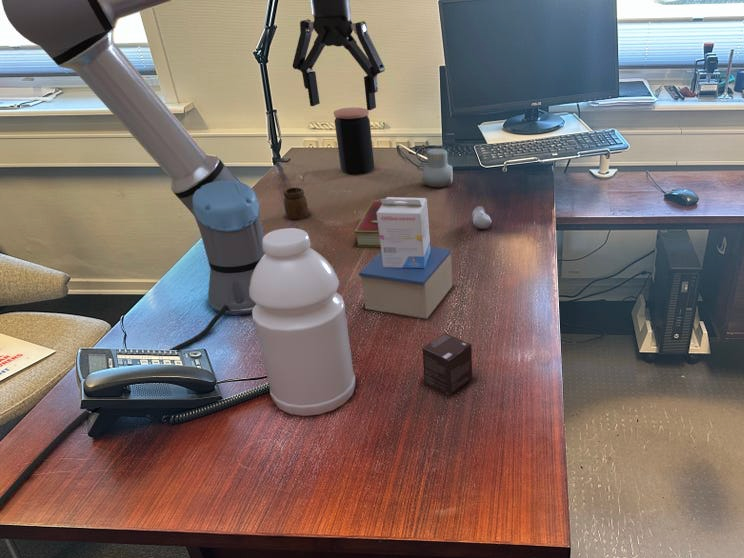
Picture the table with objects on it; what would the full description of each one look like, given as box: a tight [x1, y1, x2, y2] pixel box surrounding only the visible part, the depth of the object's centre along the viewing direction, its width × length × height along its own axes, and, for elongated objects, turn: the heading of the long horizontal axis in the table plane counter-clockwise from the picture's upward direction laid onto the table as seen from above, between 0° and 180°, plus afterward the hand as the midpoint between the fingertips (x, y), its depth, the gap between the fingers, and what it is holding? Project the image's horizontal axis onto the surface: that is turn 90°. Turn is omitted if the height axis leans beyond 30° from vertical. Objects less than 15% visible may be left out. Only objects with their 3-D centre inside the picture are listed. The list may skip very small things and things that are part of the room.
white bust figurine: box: [471, 205, 492, 230], centre depth 167 cm, size 4×8×5 cm
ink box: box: [377, 196, 431, 269], centre depth 127 cm, size 9×8×13 cm
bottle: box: [249, 227, 356, 417], centre depth 101 cm, size 14×14×28 cm
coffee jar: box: [333, 107, 375, 176], centre depth 201 cm, size 11×11×18 cm
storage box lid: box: [358, 246, 452, 286], centre depth 131 cm, size 15×14×1 cm
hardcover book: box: [354, 200, 382, 248], centre depth 164 cm, size 12×21×4 cm, turn 176°
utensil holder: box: [276, 172, 309, 220], centre depth 171 cm, size 6×6×12 cm
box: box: [421, 332, 473, 396], centre depth 109 cm, size 6×6×7 cm
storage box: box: [361, 253, 453, 320], centre depth 133 cm, size 15×14×8 cm
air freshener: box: [422, 148, 454, 188], centre depth 191 cm, size 11×8×10 cm
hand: (343, 107), depth 138 cm, fingers open, 13 cm apart
